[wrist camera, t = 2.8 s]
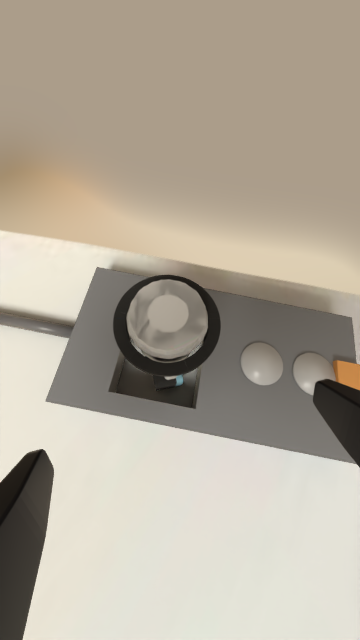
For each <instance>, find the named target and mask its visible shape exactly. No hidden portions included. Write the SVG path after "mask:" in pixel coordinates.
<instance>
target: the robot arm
mask: <svg viewBox="0 0 360 640" xmlns="http://www.w3.org/2000/svg"><path fill="white" fill-rule="evenodd" d="M313 403H314V405H315V407H316V409H317V410H318V411H319V413H320V414H321V416H322V417H323V419H324V420H325V422H326V423H327V425H328V426H329V428H330V429H331V430H332V432H333V433H334V435H335V436H336V438H337V439H338V441H339V442H340V443H341V445H342V446H343V447H344V449H345V450H346V451H347V453H348V454H349V455H350V456H351V458H352V459H353V460H354V461H355V462H356V464H357V465H358V466H359V467H360V390H358V389H355V388H352V387H349V386H347V385H344V384H341V383H339V382H336V381H333V380H330V379H323V380H319V381H317V382H316V383H315V387H314V393H313ZM53 477H54V469H53V465H52V463H51V461H50V459H49V457H48V455H47V453H46V452H45V450H43V449H40V450H36V451H32V452H29V453H27V454H26V455H25V456H24V457H23V458H22V459H21V460H20V461H19V463H18V464H17V465H16V466H15V467H14V468H13V469H12V470H11V471H10V473H9V474H8V475H7V476H6V477H5V478H4V479H3V480H2V481H1V482H0V640H22V639H23V635H24V631H25V626H26V622H27V617H28V613H29V608H30V604H31V600H32V595H33V591H34V586H35V582H36V577H37V573H38V569H39V564H40V560H41V555H42V551H43V546H44V541H45V537H46V530H47V523H48V516H49V508H50V500H51V493H52V485H53Z"/></svg>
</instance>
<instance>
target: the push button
mask: <svg viewBox="0 0 360 640" xmlns="http://www.w3.org/2000/svg"><path fill="white" fill-rule="evenodd" d="M220 330H221V321H220V315H219V311H218V308H217V306H216V304H215V302H214V300H213V299H212V297H211V296H210V295H209V294H208V293H207V291H205V290H204V289H203V288H202V287H201V286H199V285H198V284H196V283H195V282H193V281H191V280H189V279H186V278H183V277H179V276H174V275H159V276H154V277H150V278H147V279H144V280H142V281H140V282H138V283H137V284H135V285H134V286H132V287H131V288H130V289H129V290H128V291H127V292H126V293H125V294H124V295H123V296H122V298H121V299H120V301H119V303H118V305H117V307H116V310H115V313H114V318H113V332H114V337H115V340H116V343H117V345H118V347H119V349H120V351H121V352H122V354H123V355H124V356H125V358H126V359H127V360H128V361H129V362H130V363H131V364H133V365H134V366H135V367H137V368H138V369H140V370H142V371H144V372H146V373H149V374H152V375H153V377H154V383H155V388H156V391H157V390H162V389H166V388H171V387H175V386H180V385H182V383H183V376H182V374H185V373H188V372H190V371H192V370H194V369H196V368H198V367H199V366H200V365H202V364H203V363H204V362H205V361H206V360H207V359H208V357H209V356H210V355H211V354H212V352H213V351H214V349H215V347H216V345H217V343H218V340H219V336H220ZM129 335H130V336H131V338H132V339H133V341H134V343H135V344H136V345H137V347H138V348H140V349H141V351H142V353H143V355H145V356H143V355H142V354H140V353H139V352H138V351H137V350H136V349H135V348H134V347H133V345H132V344H131V342H130V338H129ZM203 338H204V340H203ZM202 340H203V344H202V346H201V348H200V349H199V350H198V351H197V352H196V353H195V354H193V355H192V356H190V357H188V355H189V354H190V352H191V351H192V350H194V349H195V348H196V347H197V346H199V345H200V343H201V342H202ZM187 357H188V358H187Z"/></svg>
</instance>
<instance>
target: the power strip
mask: <svg viewBox="0 0 360 640" xmlns="http://www.w3.org/2000/svg"><path fill="white" fill-rule="evenodd" d="M147 278H150V277H145V276H140V275H134V274H129V273H124V272H119V271H114V270H109V269H104V268H99V267H97V268H96V271H95V273H94V276H93V279H92V281H91V284H90V286H89V289H88V292H87V294H86V297H85V299H84V302H83V305H82V307H81V310H80V312H79V315H78V318H77V320H76V323H75V325H74V327H72V326H67V325H62V324H57V323H52V322H47V321H42V320H37V319H32V318H27V317H22V316H17V315H12V314H7V313H2V312H0V324H1V325H6V326H11V327H16V328H21V329H26V330H31V331H36V332H41V333H46V334H51V335H56V336H61V337H66V338H69V341H68V344H67V346H66V349H65V351H64V354H63V357H62V359H61V362H60V364H59V367H58V370H57V372H56V375H55V377H54V380H53V383H52V385H51V388H50V390H49V393H48V396H47V398H46V402H51V403H56V404H61V405H66V406H71V407H76V408H81V409H86V410H91V411H96V412H101V413H106V414H111V415H116V416H121V417H126V418H130V419H135V420H140V421H145V422H150V423H155V424H160V425H165V426H170V427H175V428H180V429H185V430H190V431H195V432H200V433H205V434H210V435H215V436H220V437H225V438H230V439H235V440H240V441H245V442H250V443H255V444H260V445H265V446H270V447H274V448H279V449H284V450H289V451H294V452H299V453H304V454H309V455H314V456H319V457H324V458H329V459H334V460H339V461H344V462H349V463H354V464H356V462H355V461H354V460H353V459H352V458H351V456H350V455H349V454H348V453H347V451H346V450H345V449H344V447H343V446H342V445H341V443H340V442H339V441H338V439H337V438H336V436H335V435H334V433H333V432H332V430H331V429H330V428H329V426H328V425H327V423H326V422H325V420H324V419H323V417H322V416H321V414H320V413H319V411H318V410H317V409H316V407H315V405H314V403H313V393H314V387H315V383H316V382H317V381H319V380H323V379H330V380H333V381H336V382H339V383H341V384H344V385H347V386H349V387H352V388H355V389H358V390H360V365H359V364H357V363H356V354H355V344H354V334H353V325H352V317H347V316H342V315H337V314H332V313H327V312H321V311H316V310H311V309H306V308H301V307H296V306H291V305H286V304H281V303H276V302H271V301H266V300H261V299H256V298H251V297H246V296H241V295H236V294H231V293H225V292H220V291H215V290H210V289H205V288H203V289H204V290H205V291H207V293H208V294H209V295H210V296H211V297H212V299H213V300H214V302H215V304H216V306H217V308H218V311H219V315H220V321H221V330H220V336H219V340H218V343H217V345H216V347H215V349H214V351H213V352H212V354H211V355H210V356H209V357H208V359H207V360H206V361H205V362H204V363H203V364H202V365H200V366H199V367H198V372H197V378H196V385H195V391H194V398H193V404H192V408H188V407H183V406H178V405H173V404H168V403H163V402H158V401H153V400H148V399H143V398H138V397H133V396H128V395H123V394H118V393H115V392H116V389H117V385H118V382H119V378H120V374H121V371H122V367H123V364H124V360H125V356H124V355H123V354H122V352H121V351H120V349H119V347H118V345H117V343H116V340H115V337H114V332H113V318H114V313H115V310H116V307H117V305H118V303H119V301H120V299H121V298H122V296H123V295H124V294H125V293H126V292H127V291H128V290H129V289H130V288H131V287H132V286H134V285H135V284H137V283H138V282H140V281H142V280H144V279H147ZM129 338H130V339H131V336H130V335H129ZM203 340H204V338H203ZM203 340H202V344H203Z"/></svg>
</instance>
